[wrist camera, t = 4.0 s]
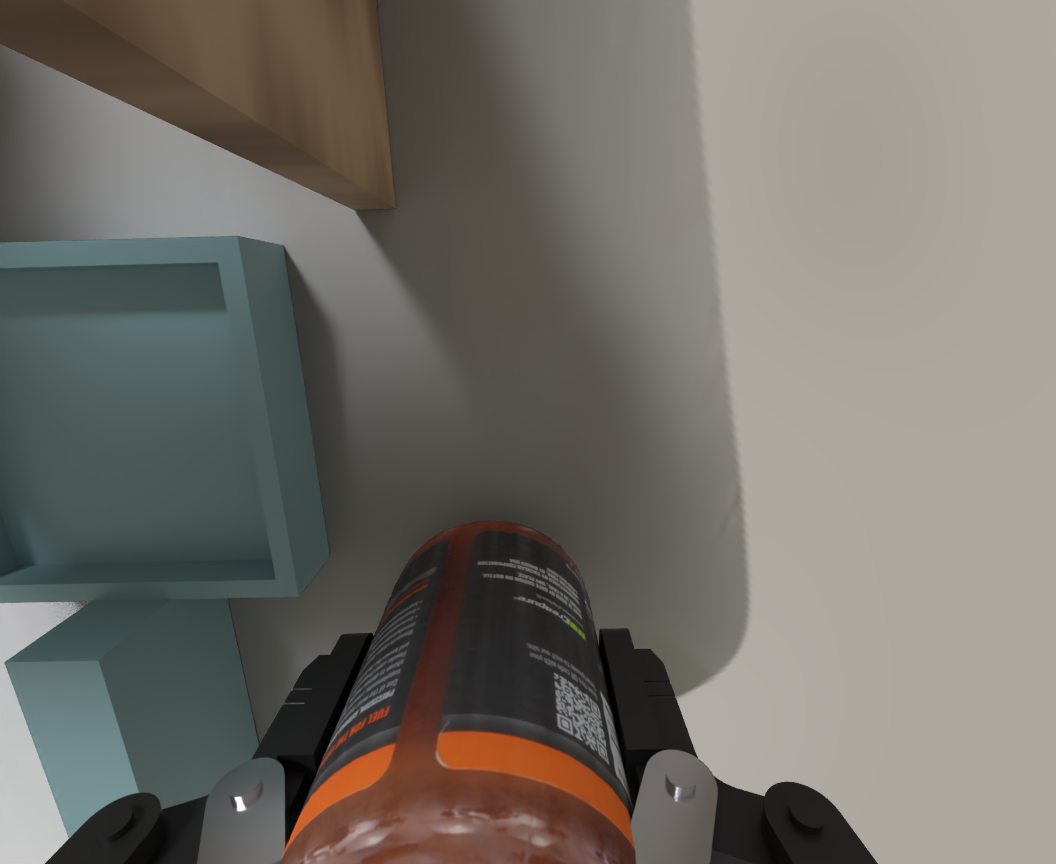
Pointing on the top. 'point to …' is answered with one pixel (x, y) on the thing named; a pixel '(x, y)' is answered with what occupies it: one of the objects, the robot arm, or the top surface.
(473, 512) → the top surface
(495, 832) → the supplement bottle
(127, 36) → the wooden bridge stand
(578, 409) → the top surface
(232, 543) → the dustpan
